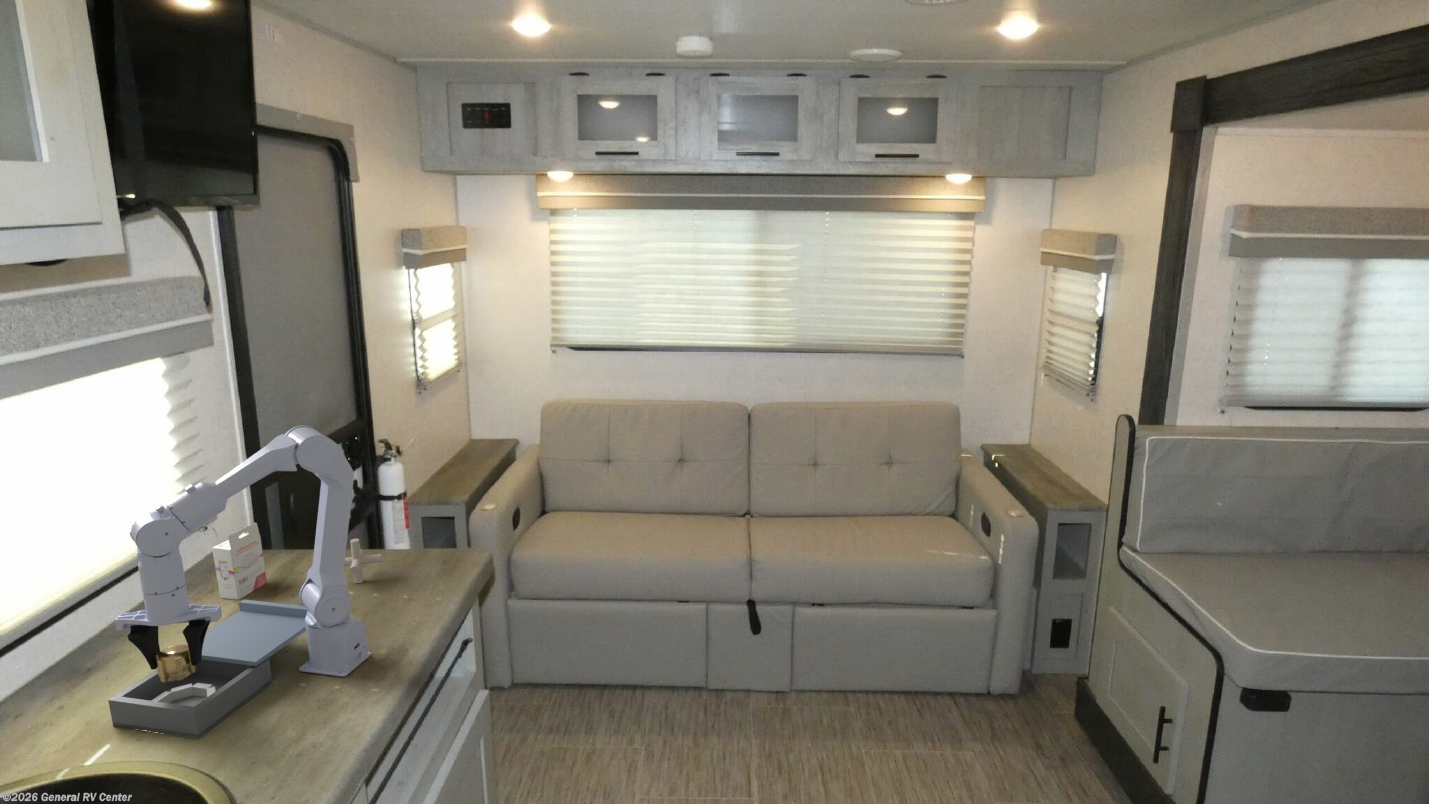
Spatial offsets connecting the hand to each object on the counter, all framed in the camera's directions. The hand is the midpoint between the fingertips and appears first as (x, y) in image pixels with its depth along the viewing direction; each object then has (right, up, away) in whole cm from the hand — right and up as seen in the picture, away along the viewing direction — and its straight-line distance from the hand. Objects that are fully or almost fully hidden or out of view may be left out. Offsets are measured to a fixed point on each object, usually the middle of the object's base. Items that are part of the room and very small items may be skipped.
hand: (176, 664), depth 131 cm
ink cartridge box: (-16, +1, +45) cm, 48 cm away
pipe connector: (+8, +2, +50) cm, 50 cm away
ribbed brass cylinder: (0, -2, 0) cm, 2 cm away
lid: (+3, 0, +16) cm, 16 cm away
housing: (0, -8, +4) cm, 9 cm away
